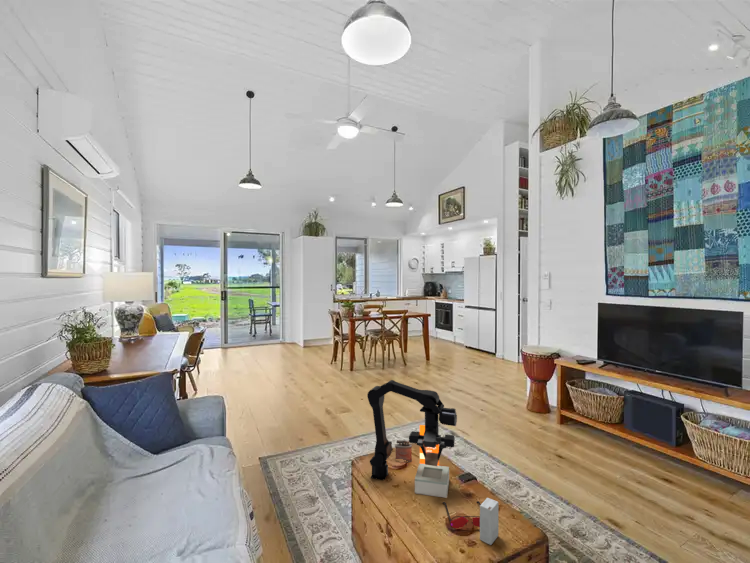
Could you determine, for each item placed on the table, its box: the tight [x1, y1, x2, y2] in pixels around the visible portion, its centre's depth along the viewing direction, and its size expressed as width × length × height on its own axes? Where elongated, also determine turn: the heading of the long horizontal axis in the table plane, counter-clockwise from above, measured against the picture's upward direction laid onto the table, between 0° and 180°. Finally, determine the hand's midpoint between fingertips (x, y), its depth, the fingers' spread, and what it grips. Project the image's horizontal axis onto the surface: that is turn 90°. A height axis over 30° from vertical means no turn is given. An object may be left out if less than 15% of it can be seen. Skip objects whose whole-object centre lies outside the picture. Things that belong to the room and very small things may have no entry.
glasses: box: [442, 501, 482, 529], centre depth 137 cm, size 14×16×5 cm
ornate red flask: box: [394, 439, 413, 463], centre depth 179 cm, size 8×3×10 cm, turn 84°
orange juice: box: [419, 424, 440, 466], centre depth 171 cm, size 8×9×20 cm
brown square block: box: [425, 452, 440, 466], centre depth 156 cm, size 5×5×3 cm
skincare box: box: [479, 497, 499, 546], centre depth 125 cm, size 6×4×12 cm
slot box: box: [414, 462, 450, 499], centre depth 156 cm, size 13×13×6 cm
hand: (432, 459), depth 156 cm, fingers closed on brown square block, 5 cm apart
